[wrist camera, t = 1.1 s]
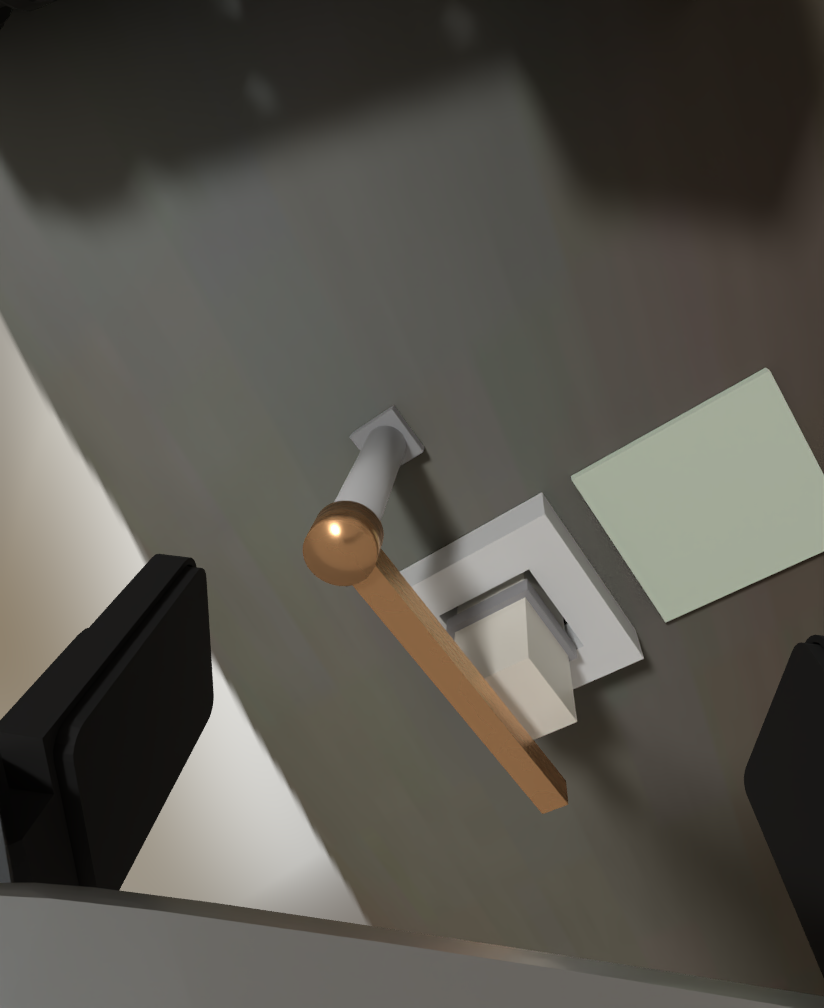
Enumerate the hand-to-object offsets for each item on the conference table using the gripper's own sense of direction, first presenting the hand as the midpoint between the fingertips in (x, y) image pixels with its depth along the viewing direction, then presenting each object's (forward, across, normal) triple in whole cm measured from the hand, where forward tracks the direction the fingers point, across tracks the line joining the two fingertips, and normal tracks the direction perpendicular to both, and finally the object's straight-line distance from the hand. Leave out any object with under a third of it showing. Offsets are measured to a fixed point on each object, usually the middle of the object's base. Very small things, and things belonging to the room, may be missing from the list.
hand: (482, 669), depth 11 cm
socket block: (+30, -1, +15) cm, 34 cm away
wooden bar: (+18, 0, +14) cm, 23 cm away
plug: (+30, -4, +18) cm, 36 cm away
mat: (+30, -15, +9) cm, 35 cm away
